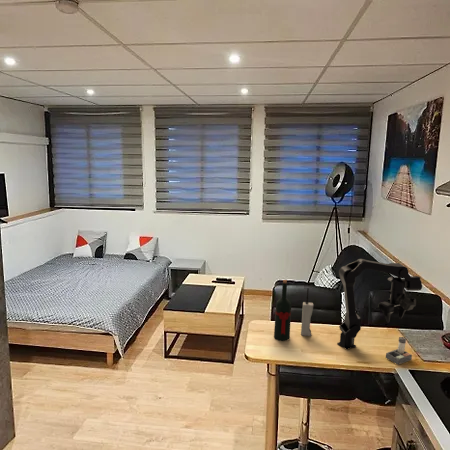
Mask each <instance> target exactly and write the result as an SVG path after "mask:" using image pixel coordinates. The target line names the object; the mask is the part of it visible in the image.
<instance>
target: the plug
mask: <svg viewBox="0 0 450 450" xmlns="http://www.w3.org/2000/svg"><path fill="white" fill-rule="evenodd" d="M406 342H407V339H406V337H403V336H399V337H398V344H397V345H398V346H397V349H398V352H397V353H399V354H401V355H403V354H404V351H406V350H405V349H406Z"/></svg>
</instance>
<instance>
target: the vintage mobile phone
mask: <svg viewBox="0 0 450 450" xmlns="http://www.w3.org/2000/svg"><path fill="white" fill-rule="evenodd" d="M306 289H307V290H306V299H305V301H303V302H302V310H301V311H302V312H301V329H300V330H301V331H300V334H301V336H306V337H312V330H311V317H312V315H313V311H314V303H313V302H309V290H310V289H309V287H308V288H306Z"/></svg>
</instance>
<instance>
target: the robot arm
mask: <svg viewBox="0 0 450 450" xmlns="http://www.w3.org/2000/svg"><path fill="white" fill-rule="evenodd" d="M365 270H370V271H376V272H381V273H387V274H390V275H391V276H389V277H388V278H387V281H389V282H390V283H391V288H390V290H388V294H390V297H389V298H388V299H387V301H382V302H381V301H380V302H379V303H378V304H377V305H378V306H377V308H378V309H380V310H381V312H382V314H383V317H384V319H385V322H386V323H388V324H389V323H390V320H391V315H392V314H393V313H394V312H395V311H394V310H395V307H397V314H398V319H399V320H402V319H403V317H404V315H405V313H406V311H407V312H408V311H411V310H413V309H414V307H416V306H417V298H415V297H412V298H410V297H407V293H405V290H406V291H422V289H423V284H422V283H423V281H422V280H421V277H420V276H419V275H414V276H411V275H410V274H409V268H407V267H406V266H405V265H403V264H401V263H400V262H391V263H384V262H379V261H374V260H368V259H364V258H358V259H357V260H355V261H353V262H350V263H348V264H346V265H344V266H341V267H340V268H339V270H338V274H339V278H340V281H341V283H342V285H343V293H344V303H345V305H344V306H345V315H344V318H343V319H344V321H343V322H342V323H341V324H339V330H340V332H341V333H340V335H339V336H340V337H339V341H338V342H337V343H336V344H337V345H338V346H340V347H342V348H344V349H345V350H350V349H354V348H356V347H357V345H356V344H355V338H356V337H357V335H358V334H359V332H360V331H361V329H362V328H361V327H363V325H362V318H361V316H360V315H358V314H357V311H356V309H357V308H356V300H355V289H354V288H355V287H354V286H355V284H356V278H357V277H358V276H360V275H361V274H362V272H363V271H365Z"/></svg>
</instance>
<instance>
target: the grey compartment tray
mask: <svg viewBox="0 0 450 450" xmlns="http://www.w3.org/2000/svg"><path fill="white" fill-rule="evenodd" d="M397 352H398V348H397V349H393V350H391V351H388V352H386V353H385V359H386V358H387V360H388V359H389V361H390V360H391V361H390V362H392V361H393V362H392V363H393V364H395V363H396V364H395V365H397V364H398V365H397V366H399V365H401V364H404V363H406V362H410V361H412V356H413V355H412V354H411V353H409V352H407V351H406V350H404V354H403V355H401V354H399V353H397Z"/></svg>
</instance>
